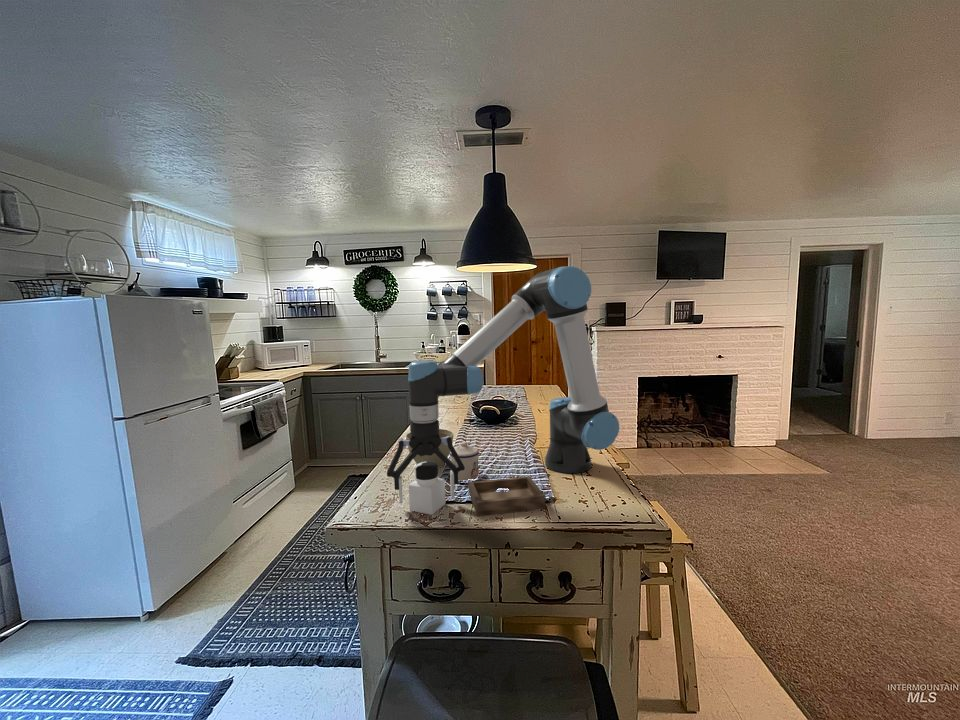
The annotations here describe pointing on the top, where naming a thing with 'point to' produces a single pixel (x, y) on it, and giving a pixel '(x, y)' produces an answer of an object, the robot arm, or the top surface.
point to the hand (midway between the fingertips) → (427, 498)
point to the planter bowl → (434, 457)
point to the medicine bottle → (426, 489)
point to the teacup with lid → (466, 461)
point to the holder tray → (506, 496)
